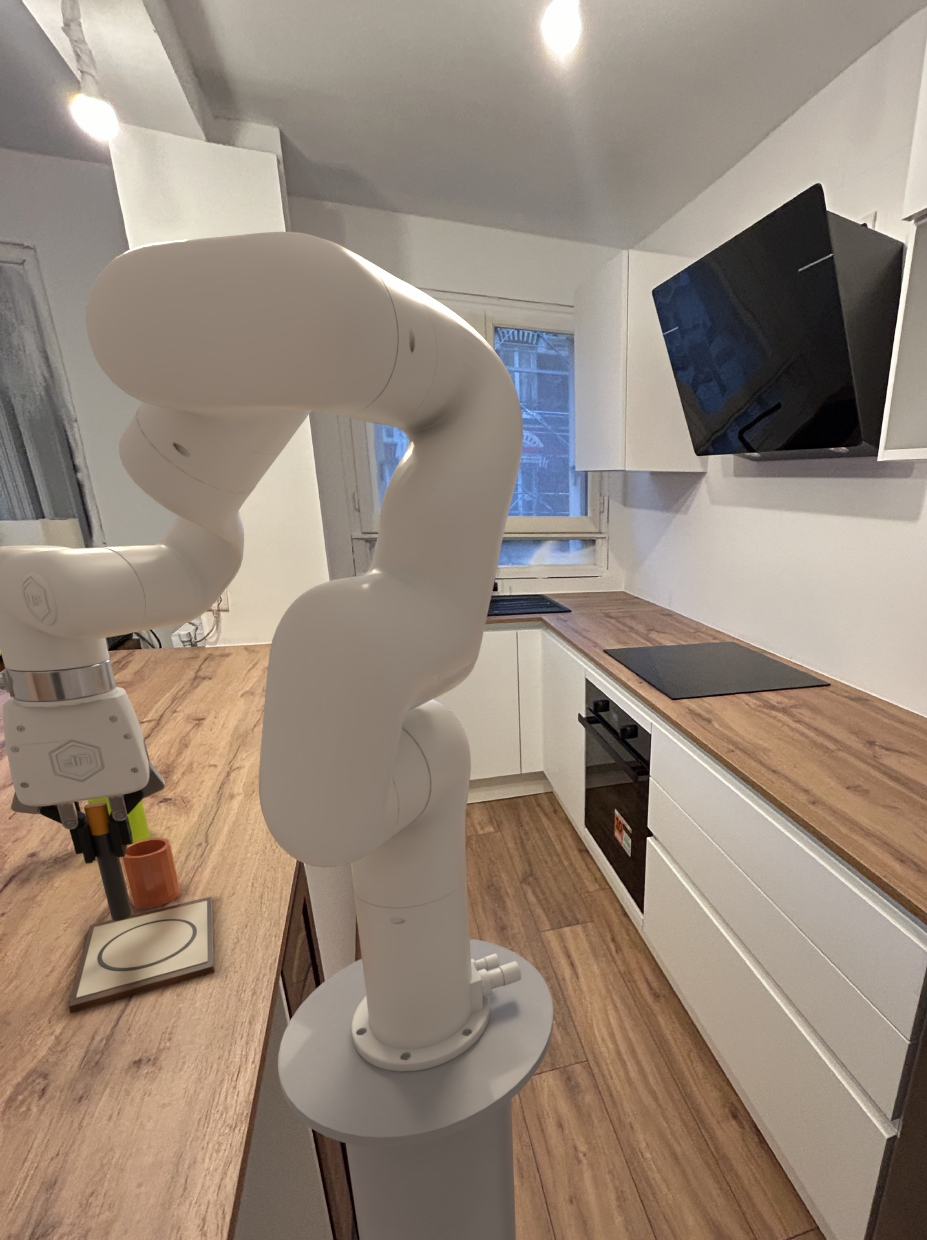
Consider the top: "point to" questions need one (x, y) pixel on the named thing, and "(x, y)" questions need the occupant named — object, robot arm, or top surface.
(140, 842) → the pen pot
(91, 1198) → the top surface
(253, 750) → the top surface
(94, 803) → the marker
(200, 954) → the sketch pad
